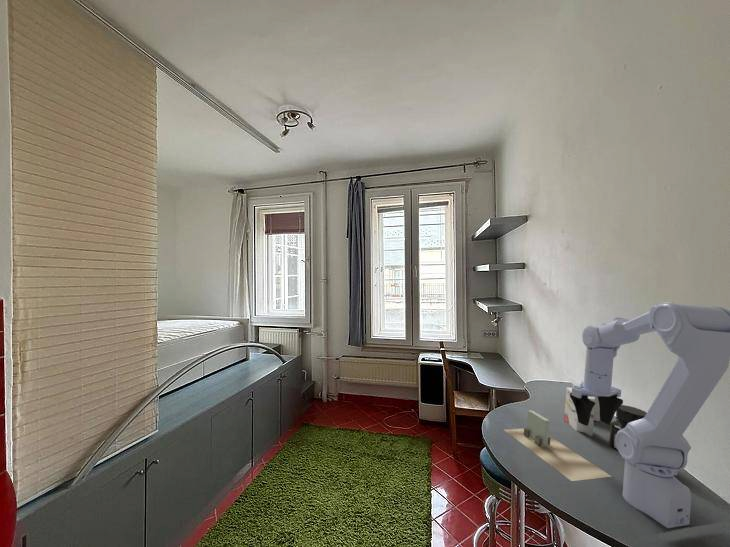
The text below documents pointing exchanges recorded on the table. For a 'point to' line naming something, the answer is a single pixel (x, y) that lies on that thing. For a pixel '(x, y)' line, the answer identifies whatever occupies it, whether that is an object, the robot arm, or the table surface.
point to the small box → (597, 407)
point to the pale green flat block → (538, 427)
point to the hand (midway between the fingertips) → (594, 423)
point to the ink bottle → (623, 421)
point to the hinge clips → (537, 439)
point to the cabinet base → (561, 458)
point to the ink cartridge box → (571, 415)
